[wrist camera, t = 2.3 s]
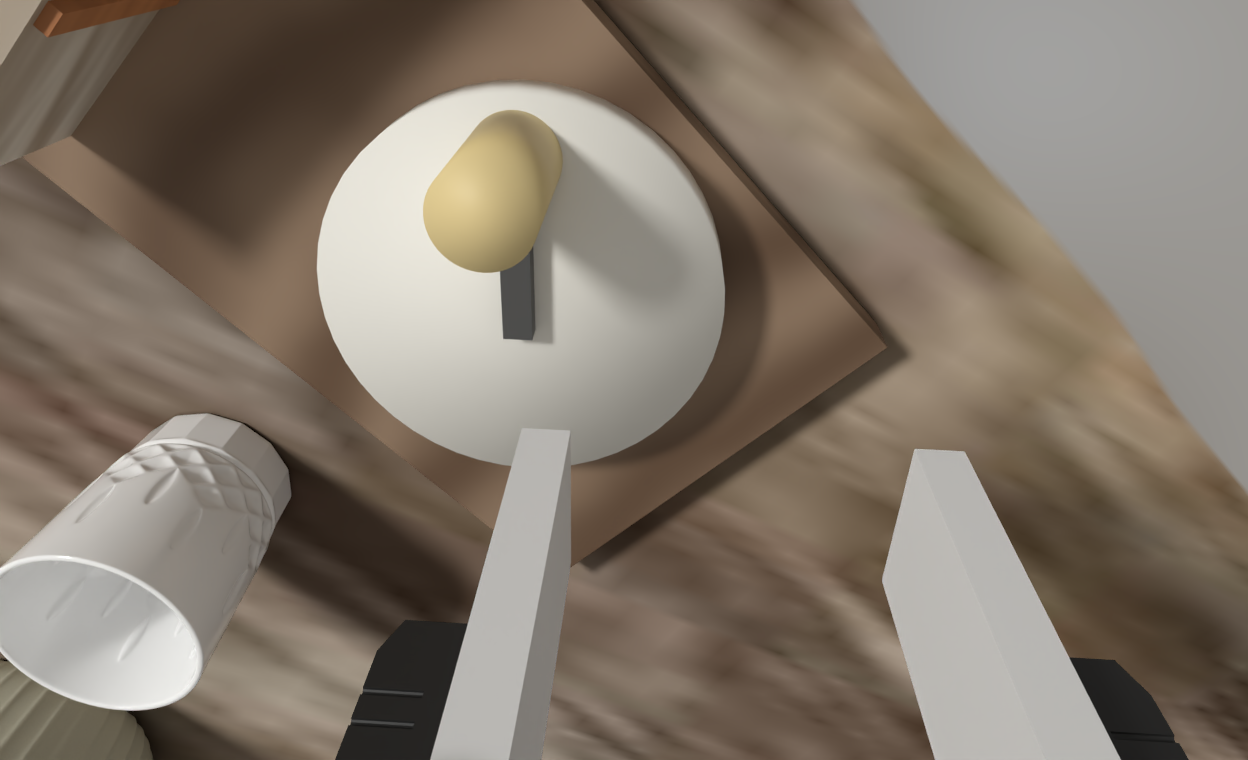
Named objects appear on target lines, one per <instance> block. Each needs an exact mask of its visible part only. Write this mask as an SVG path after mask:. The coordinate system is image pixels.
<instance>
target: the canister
mask: <svg viewBox="0 0 1248 760" xmlns="http://www.w3.org/2000/svg"><path fill="white" fill-rule="evenodd" d="M0 760H153V756H152V752H151V750H150V744H149V741H148V739H147V737H146V736H145V734H144V730H143V728H142V727H141V726H140V725H138V724H137V722H136V719H135V717H134V716H133V715H131V714H129V713H128V712H127V711H125V710H113V709H106V708H101V707H96V706H92V705H88V704H84V703H81V702H78V701H75V700H72V699H69V698H67V697H64V696H62V695H60V694H58V693H55V692H53V691H51V690H49V689H47V688H46V687H44V686H42V685H40V684H39V683H37V682H35V681H34V680H32V679H31V678H29V677H28V676H26V675H25V674H24V673H22V672H21V671H20V670H19V669H17V668H16V667H15V666H14V665H13V664H12V663H11V662H9V661H2V660H0Z"/></svg>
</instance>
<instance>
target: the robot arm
mask: <svg viewBox="0 0 1248 760" xmlns="http://www.w3.org/2000/svg"><path fill="white" fill-rule="evenodd" d="M570 566H571V431H568V430H549V429H531V428H522V430H521V434H520V437H519V441H518V445H517V448H516V452H515V455H514V459H513V463H512V466H511V470H510V474H509V477H508V481H507V484H506V488H505V492H504V495H503V499H502V502H501V506H500V510H499V513H498V517H497V520H496V524H495V528H494V531H493V535H492V539H491V542H490V546H489V549H488V553H487V557H486V560H485V564H484V567H483V571H482V575H481V578H480V582H479V585H478V589H477V593H476V596H475V600H474V604H473V607H472V611H471V614H470V618H469V622H468V624H462V623H446V622H429V621H412V620H405V621H404V622H403V623H402V624H401V625H400V626H399V627H398V629H397V630H396V631H395V632H394V633H393V634H392V635H391V636H390V637H389V638H388V639H387V640H386V642H385V643H384V644H383V645H382V646H381V647H380V648H379V649H378V650H377V652H376V655H375V658H374V660H373V663H372V665H371V668H370V671H369V673H368V676H367V678H366V681H365V684H364V686H363V693H362V695H361V694H360V697H359V699H358V702H357V704H356V707H355V710H354V712H353V715H352V717H351V719H352V720H351V725H348V728H347V730H346V733H345V736H344V738H343V741H342V743H341V746H340V749H339V751H338V754H337V756H336V759H335V760H541V758H542V751H543V745H544V738H545V732H546V725H547V718H548V712H549V705H550V698H551V692H552V685H553V679H554V672H555V665H556V659H557V652H558V645H559V639H560V632H561V625H562V619H563V612H564V606H565V599H566V592H567V586H568V579H569V572H570ZM882 582H883V586H884V589H885V592H886V596H887V599H888V602H889V606H890V609H891V613H892V616H893V619H894V623H895V626H896V629H897V633H898V636H899V640H900V643H901V646H902V650H903V653H904V656H905V660H906V663H907V667H908V670H909V673H910V677H911V680H912V683H913V687H914V690H915V693H916V697H917V700H918V704H919V707H920V710H921V714H922V717H923V720H924V724H925V727H926V731H927V734H928V737H929V741H930V744H931V747H932V751H933V754H934V758H935V760H1189V759H1188V758H1187V756H1186V754H1185V753H1184V751H1183V749H1182V747H1181V746H1180V744H1179V743H1175V741H1174V734H1173V732H1172V730H1171V729H1170V727H1169V725H1168V723H1167V722H1166V720H1165V718H1164V717H1163V715H1162V713H1161V711H1160V710H1159V708H1158V706H1157V705H1156V703H1155V701H1154V700H1153V698H1152V696H1151V695H1150V694H1149V693H1148V692H1147V691H1146V690H1145V689H1144V688H1143V687H1142V686H1141V685H1140V684H1139V683H1138V682H1137V681H1136V680H1134V679H1133V678H1132V677H1131V676H1130V675H1129V674H1128V673H1127V672H1126V671H1125V670H1124V669H1123V668H1122V667H1121V666H1120V665H1119V664H1118V663H1117V662H1116V661H1115V660H1103V659H1086V658H1069V656H1068V655H1067V653H1066V651H1065V649H1064V647H1063V645H1062V643H1061V641H1060V639H1059V637H1058V635H1057V633H1056V631H1055V629H1054V627H1053V625H1052V623H1051V621H1050V619H1049V617H1048V615H1047V613H1046V611H1045V609H1044V607H1043V605H1042V603H1041V601H1040V599H1039V597H1038V595H1037V593H1036V591H1035V589H1034V587H1033V586H1032V584H1031V582H1030V580H1029V578H1028V576H1027V574H1026V572H1025V570H1024V568H1023V566H1022V564H1021V562H1020V560H1019V558H1018V556H1017V554H1016V552H1015V550H1014V548H1013V546H1012V544H1011V542H1010V540H1009V538H1008V536H1007V534H1006V532H1005V530H1004V528H1003V526H1002V524H1001V522H1000V520H999V519H998V517H997V515H996V513H995V511H994V509H993V507H992V505H991V503H990V501H989V499H988V497H987V495H986V493H985V491H984V489H983V487H982V485H981V483H980V481H979V479H978V477H977V475H976V473H975V471H974V469H973V467H972V465H971V463H970V461H969V459H968V457H967V455H966V453H965V452H964V451H945V450H926V449H915V450H914V454H913V458H912V462H911V466H910V470H909V474H908V478H907V482H906V486H905V490H904V494H903V498H902V502H901V506H900V510H899V514H898V518H897V522H896V526H895V530H894V534H893V538H892V542H891V546H890V550H889V554H888V558H887V562H886V566H885V570H884V574H883V578H882Z"/></svg>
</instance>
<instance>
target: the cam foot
mask: <svg viewBox="0 0 1248 760" xmlns="http://www.w3.org/2000/svg"><path fill="white" fill-rule="evenodd" d="M317 276H318V286H319V295H320V299H321V303H322V307H323V311H324V316H325V319H326V321H327V324H328V327H329V329H330V332H331V334H332V337H333V340H334V342H335V343H336V345H337V347H338V349H339V351H340V353H341V355H342V357H343V358H344V360H345V362H346V363H347V365H348V366H349V368H350V369H351V371H352V372H353V374H354V375H355V376H356V378H357V379H358V381H359V382H360V383H361V384H362V385H363V386H364V388H365V389H366V390H367V391H368V392H369V393H370V394H371V396H372V397H373V398H374V399H375V400H376V401H377V402H378V403H379V404H380V405H382V406H383V407H384V408H385V409H386V410H387V411H388V412H389V413H390V414H392V415H393V416H394V417H395V418H397V419H398V420H399V421H401V422H402V423H403V424H405V425H406V426H408V427H409V428H410V429H412V430H413V431H415V432H417V433H418V434H420V435H422V436H424V437H425V438H427V439H429V440H430V441H432V442H434V443H436V444H438V445H441V446H443V447H445V448H447V449H450V450H452V451H454V452H456V453H459V454H463V455H466V456H469V457H472V458H475V459H478V460H482V461H487V462H491V463H496V464H500V465H508V466H512V463H513V459H514V455H515V452H516V448H517V445H518V441H519V437H520V434H521V430H522V428H531V429H549V430H568V431H571V465H576V464H580V463H585V462H589V461H594V460H597V459H600V458H603V457H606V456H609V455H612V454H615V453H618V452H620V451H622V450H624V449H626V448H628V447H630V446H632V445H634V444H636V443H638V442H640V441H641V440H643V439H644V438H646V437H647V436H649V435H651V434H652V433H654V432H655V431H657V430H658V429H659V428H660V427H662V426H663V425H664V424H665V423H666V422H667V421H669V420H670V419H671V418H672V417H673V416H675V414H676V413H677V412H678V411H679V410H680V409H681V408H682V407H683V406H684V404H685V403H686V402H687V401H688V400H689V399H690V398H691V396H692V395H693V393H694V392H695V390H696V389H697V387H698V386H699V384H700V383H701V382H702V380H703V378H704V376H705V374H706V372H707V370H708V368H709V366H710V364H711V362H712V360H713V357H714V354H715V351H716V348H717V345H718V342H719V339H720V335H721V329H722V324H723V318H724V307H725V284H724V276H723V267H722V259H721V251H720V243H719V238H718V235H717V231H716V227H715V223H714V219H713V216H712V214H711V211H710V209H709V207H708V204H707V202H706V199H705V197H704V195H703V193H702V191H701V189H700V188H699V186H698V184H697V183H696V181H695V179H694V177H693V176H692V174H691V172H690V171H689V169H688V168H687V167H686V166H685V164H684V163H683V162H682V161H681V159H680V158H679V157H678V156H677V154H676V153H675V152H674V150H673V149H672V148H671V147H670V146H669V145H668V144H667V143H665V142H664V141H663V140H662V139H661V138H660V137H659V136H658V135H657V134H656V133H655V132H654V131H653V130H652V129H650V128H649V127H648V126H646V125H645V124H644V123H642V122H641V121H640V120H638V119H637V118H636V117H634V116H633V115H632V114H630V113H628V112H626V111H625V110H623V109H621V108H619V107H617V106H616V105H614V104H612V103H610V102H608V101H607V100H605V99H602V98H600V97H597V96H594V95H592V94H589V93H587V92H584V91H582V90H579V89H575V88H571V87H567V86H563V85H559V84H555V83H551V82H542V81H533V80H524V79H520V80H493V81H487V82H481V83H475V84H469V85H465V86H462V87H459V88H456V89H453V90H450V91H447V92H443V93H441V94H439V95H437V96H435V97H433V98H431V99H429V100H427V101H424V102H422V103H420V104H418V105H417V106H415V107H414V108H412V109H411V110H410V111H408V112H407V113H405V114H404V115H402V116H401V117H399V118H398V119H397V120H395V121H394V122H393V123H392V124H391V125H390V126H389V127H387V128H386V129H385V130H384V131H383V132H382V133H380V134H379V135H378V136H377V137H376V138H375V139H374V140H373V141H372V142H371V143H370V144H369V145H368V146H367V147H365V148H364V149H363V150H362V151H361V152H360V153H359V154H358V156H357V157H356V158H355V160H354V161H353V162H352V163H351V165H350V166H349V167H348V169H347V170H346V171H345V173H344V174H343V176H342V177H341V179H340V181H339V183H338V185H337V187H336V188H335V190H334V192H333V194H332V196H331V198H330V201H329V204H328V207H327V209H326V212H325V215H324V218H323V221H322V226H321V231H320V236H319V241H318V253H317Z"/></svg>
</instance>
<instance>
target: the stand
mask: <svg viewBox="0 0 1248 760" xmlns="http://www.w3.org/2000/svg"><path fill="white" fill-rule="evenodd" d="M520 79H524V80H533V81H542V82H551V83H555V84H559V85H563V86H567V87H571V88H575V89H579V90H582V91H584V92H587V93H589V94H592V95H594V96H597V97H600V98H602V99H605V100H607V101H608V102H610V103H612V104H614V105H616V106H617V107H619V108H621V109H623V110H625V111H626V112H628V113H630V114H632V115H633V116H634V117H636V118H637V119H638V120H640V121H641V122H642V123H644V124H645V125H646V126H648V127H649V128H650V129H652V130H653V131H654V132H655V133H656V134H657V135H658V136H659V137H660V138H661V139H662V140H663V141H664V142H665V143H667V144H668V145H669V146H670V147H671V148H672V149H673V150H674V152H675V153H676V154H677V156H678V157H679V158H680V159H681V161H682V162H683V163H684V164H685V166H686V167H687V168H688V169H689V171H690V172H691V174H692V176H693V177H694V179H695V181H696V183H697V184H698V186H699V188H700V189H701V191H702V193H703V195H704V197H705V199H706V202H707V204H708V207H709V209H710V211H711V214H712V216H713V219H714V223H715V227H716V231H717V235H718V238H719V243H720V251H721V259H722V267H723V276H724V284H725V307H724V318H723V324H722V329H721V335H720V339H719V342H718V345H717V348H716V351H715V354H714V357H713V360H712V362H711V364H710V366H709V368H708V370H707V372H706V374H705V376H704V378H703V380H702V382H701V383H700V384H699V386H698V387H697V389H696V390H695V392H694V393H693V395H692V396H691V398H690V399H689V400H688V401H687V402H686V403H685V404H684V406H683V407H682V408H681V409H680V410H679V411H678V412H677V413H676V414H675V416H673V417H672V418H671V419H670V420H669V421H667V422H666V423H665V424H664V425H663V426H662V427H660V428H659V429H658V430H657V431H655V432H654V433H652V434H651V435H649V436H647V437H646V438H644V439H643V440H641V441H640V442H638V443H636V444H634V445H632V446H630V447H628V448H626V449H624V450H622V451H620V452H618V453H615V454H612V455H609V456H606V457H603V458H600V459H597V460H594V461H589V462H585V463H580V464H576V465H571V566H570V567H572V566H573V565H575V564H576V563H578V562H579V561H580V560H582V559H583V558H585V557H586V556H588V555H589V554H591V553H592V552H593V551H595V550H596V549H598V548H599V547H601V546H602V545H603V544H605V543H606V542H608V541H609V540H611V539H612V538H614V537H615V536H616V535H618V534H619V533H621V532H622V531H624V530H625V529H627V528H628V527H629V526H631V525H632V524H634V523H635V522H637V521H638V520H640V519H641V518H642V517H644V516H645V515H647V514H648V513H650V512H651V511H652V510H654V509H655V508H657V507H658V506H660V505H661V504H663V503H664V502H665V501H667V500H668V499H670V498H671V497H673V496H674V495H676V494H677V493H678V492H680V491H681V490H683V489H684V488H686V487H687V486H688V485H690V484H691V483H693V482H694V481H696V480H697V479H699V478H700V477H701V476H703V475H704V474H706V473H707V472H709V471H710V470H712V469H713V468H714V467H716V466H717V465H719V464H720V463H722V462H723V461H725V460H726V459H727V458H729V457H730V456H732V455H733V454H735V453H736V452H737V451H739V450H740V449H742V448H743V447H745V446H746V445H748V444H749V443H750V442H752V441H753V440H755V439H756V438H758V437H759V436H761V435H762V434H763V433H765V432H766V431H768V430H769V429H771V428H772V427H773V426H775V425H776V424H778V423H779V422H781V421H782V420H784V419H785V418H786V417H788V416H789V415H791V414H792V413H794V412H795V411H797V410H798V409H799V408H801V407H802V406H804V405H805V404H807V403H808V402H810V401H811V400H812V399H814V398H815V397H817V396H818V395H820V394H821V393H822V392H824V391H825V390H827V389H828V388H830V387H831V386H833V385H834V384H835V383H837V382H838V381H840V380H841V379H843V378H844V377H846V376H847V375H848V374H850V373H851V372H853V371H854V370H856V369H857V368H859V367H860V366H861V365H863V364H864V363H866V362H867V361H869V360H870V359H871V358H873V357H874V356H876V355H877V354H879V353H880V352H882V351H883V350H884V349H886V348H887V345H886V343H885V341H884V339H883V336H882V334H881V332H880V330H879V328H878V326H877V323H876V322H875V321H874V320H873V319H872V318H871V317H870V315H869V314H868V313H867V312H866V311H865V310H864V309H863V307H862V306H861V305H860V304H859V303H858V302H857V301H856V299H855V298H854V297H853V296H852V295H851V294H850V293H849V291H848V290H847V289H846V288H845V287H844V286H843V285H842V283H841V282H840V281H839V280H838V279H837V278H836V277H835V275H834V274H833V273H832V272H831V271H830V270H829V269H828V267H827V266H826V265H825V264H824V263H823V262H822V261H821V259H820V258H819V257H818V256H817V255H816V254H815V253H814V251H813V250H812V249H811V248H810V247H809V246H808V245H807V243H806V242H805V241H804V240H803V239H802V238H801V237H800V235H799V234H798V233H797V232H796V231H795V230H794V229H793V227H792V226H791V225H790V224H789V223H788V222H787V221H786V219H785V218H784V217H783V216H782V215H781V214H780V213H779V211H778V210H777V209H776V208H775V207H774V206H773V205H772V203H771V202H770V201H769V200H768V199H767V198H766V197H765V195H764V194H763V193H762V192H761V191H760V190H759V189H758V187H757V186H756V185H755V184H754V183H753V182H752V181H751V179H750V178H749V177H748V176H747V175H746V174H745V173H744V171H743V170H742V169H741V168H740V167H739V166H738V165H737V163H736V162H735V161H734V160H733V159H732V158H731V157H730V155H729V154H728V153H727V152H726V151H725V150H724V149H723V147H722V146H721V145H720V144H719V143H718V142H717V141H716V139H715V138H714V137H713V136H712V135H711V134H710V133H709V131H708V130H707V129H706V128H705V127H704V126H703V125H702V123H701V122H700V121H699V120H698V119H697V118H696V117H695V115H694V114H693V113H692V112H691V111H690V110H689V109H688V107H687V106H686V105H685V104H684V103H683V102H682V101H681V99H680V98H679V97H678V96H677V95H676V94H675V93H674V91H673V90H672V89H671V88H670V87H669V86H668V85H667V83H666V82H665V81H664V80H663V79H662V78H661V77H660V75H659V74H658V73H657V72H656V71H655V70H654V69H653V67H652V66H651V65H650V64H649V63H648V62H647V61H646V59H645V58H644V57H643V56H642V55H641V54H640V53H639V51H638V50H637V49H636V48H635V47H634V46H633V45H632V43H631V42H630V41H629V40H628V39H627V38H626V37H625V35H624V34H623V33H622V32H621V31H620V30H619V29H618V27H617V26H616V25H615V24H614V23H613V22H612V21H611V19H610V18H609V17H608V16H607V15H606V14H605V13H604V11H603V10H602V9H601V8H600V7H599V6H598V5H597V3H596V2H595V1H594V0H0V166H1V165H4V164H6V163H8V162H11V161H13V160H15V159H18V158H20V157H23V158H24V159H25V160H26V161H28V162H29V163H30V164H31V165H33V166H34V167H35V168H36V169H38V170H39V171H40V172H42V173H43V174H44V175H45V176H47V177H48V178H49V179H50V180H52V181H53V182H54V183H55V184H57V185H58V186H59V187H60V188H62V189H63V190H64V191H66V192H67V193H68V194H69V195H71V196H72V197H73V198H74V199H76V200H77V201H78V202H79V203H81V204H82V205H83V206H84V207H86V208H87V209H88V210H90V211H91V212H92V213H93V214H95V215H96V216H97V217H98V218H100V219H101V220H102V221H103V222H105V223H106V224H107V225H108V226H110V227H111V228H112V229H114V230H115V231H116V232H117V233H119V234H120V235H121V236H122V237H124V238H125V239H126V240H127V241H129V242H130V243H131V244H132V245H134V246H135V247H136V248H138V249H139V250H140V251H141V252H143V253H144V254H145V255H146V256H148V257H149V258H150V259H151V260H153V261H154V262H155V263H156V264H158V265H159V266H160V267H162V268H163V269H164V270H165V271H167V272H168V273H169V274H170V275H172V276H173V277H174V278H175V279H177V280H178V281H179V282H180V283H182V284H183V285H184V286H186V287H187V288H188V289H189V290H191V291H192V292H193V293H194V294H196V295H197V296H198V297H199V298H201V299H202V300H203V301H204V302H206V303H207V304H208V305H209V306H211V307H212V308H213V309H215V310H216V311H217V312H218V313H220V314H221V315H222V316H223V317H225V318H226V319H227V320H228V321H230V322H231V323H232V324H233V325H235V326H236V327H237V328H239V329H240V330H241V331H242V332H244V333H245V334H246V335H247V336H249V337H250V338H251V339H252V340H254V341H255V342H256V343H257V344H259V345H260V346H261V347H263V348H264V349H265V350H266V351H268V352H269V353H270V354H271V355H273V356H274V357H275V358H276V359H278V360H279V361H280V362H281V363H283V364H284V365H285V366H287V367H288V368H289V369H290V370H292V371H293V372H294V373H295V374H297V375H298V376H299V377H300V378H302V379H303V380H304V381H305V382H307V383H308V384H309V385H311V386H312V387H313V388H314V389H316V390H317V391H318V392H319V393H321V394H322V395H323V396H324V397H326V398H327V399H328V400H329V401H331V402H332V403H333V404H335V405H336V406H337V407H338V408H340V409H341V410H342V411H343V412H345V413H346V414H347V415H348V416H350V417H351V418H352V419H353V420H355V421H356V422H357V423H359V424H360V425H361V426H362V427H364V428H365V429H366V430H367V431H369V432H370V433H371V434H372V435H374V436H375V437H376V438H377V439H379V440H380V441H381V442H383V443H384V444H385V445H386V446H388V447H389V448H390V449H391V450H393V451H394V452H395V453H396V454H398V455H399V456H400V457H401V458H403V459H404V460H405V461H406V462H408V463H409V464H410V465H412V466H413V467H414V468H415V469H417V470H418V471H419V472H420V473H422V474H423V475H424V476H425V477H427V478H428V479H429V480H430V481H432V482H433V483H434V484H436V485H437V486H438V487H439V488H441V489H442V490H443V491H444V492H446V493H447V494H448V495H449V496H451V497H452V498H453V499H454V500H456V501H457V502H458V503H460V504H461V505H462V506H463V507H465V508H466V509H467V510H468V511H470V512H471V513H472V514H473V515H475V516H476V517H477V518H478V519H480V520H481V521H482V522H484V523H485V524H486V525H487V526H489V527H490V528H491V529H492V530H494V528H495V524H496V520H497V517H498V513H499V510H500V506H501V502H502V499H503V495H504V492H505V488H506V484H507V481H508V477H509V474H510V470H511V466H508V465H500V464H496V463H491V462H487V461H482V460H478V459H475V458H472V457H469V456H466V455H463V454H459V453H456V452H454V451H452V450H450V449H447V448H445V447H443V446H441V445H438V444H436V443H434V442H432V441H430V440H429V439H427V438H425V437H424V436H422V435H420V434H418V433H417V432H415V431H413V430H412V429H410V428H409V427H408V426H406V425H405V424H403V423H402V422H401V421H399V420H398V419H397V418H395V417H394V416H393V415H392V414H390V413H389V412H388V411H387V410H386V409H385V408H384V407H383V406H382V405H380V404H379V403H378V402H377V401H376V400H375V399H374V398H373V397H372V396H371V394H370V393H369V392H368V391H367V390H366V389H365V388H364V386H363V385H362V384H361V383H360V382H359V381H358V379H357V378H356V376H355V375H354V374H353V372H352V371H351V369H350V368H349V366H348V365H347V363H346V362H345V360H344V358H343V357H342V355H341V353H340V351H339V349H338V347H337V345H336V343H335V342H334V340H333V337H332V334H331V332H330V329H329V327H328V324H327V321H326V319H325V316H324V311H323V307H322V303H321V299H320V295H319V286H318V276H317V253H318V241H319V236H320V231H321V226H322V221H323V218H324V215H325V212H326V209H327V207H328V204H329V201H330V198H331V196H332V194H333V192H334V190H335V188H336V187H337V185H338V183H339V181H340V179H341V177H342V176H343V174H344V173H345V171H346V170H347V169H348V167H349V166H350V165H351V163H352V162H353V161H354V160H355V158H356V157H357V156H358V154H359V153H360V152H361V151H362V150H363V149H364V148H365V147H367V146H368V145H369V144H370V143H371V142H372V141H373V140H374V139H375V138H376V137H377V136H378V135H379V134H380V133H382V132H383V131H384V130H385V129H386V128H387V127H389V126H390V125H391V124H392V123H393V122H394V121H395V120H397V119H398V118H399V117H401V116H402V115H404V114H405V113H407V112H408V111H410V110H411V109H412V108H414V107H415V106H417V105H418V104H420V103H422V102H424V101H427V100H429V99H431V98H433V97H435V96H437V95H439V94H441V93H443V92H447V91H450V90H453V89H456V88H459V87H462V86H465V85H469V84H475V83H481V82H487V81H493V80H520Z"/></svg>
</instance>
